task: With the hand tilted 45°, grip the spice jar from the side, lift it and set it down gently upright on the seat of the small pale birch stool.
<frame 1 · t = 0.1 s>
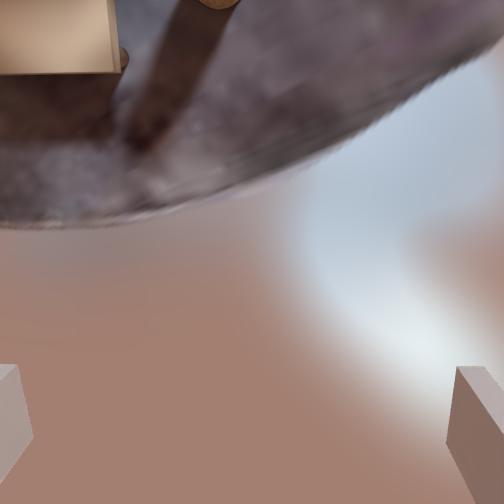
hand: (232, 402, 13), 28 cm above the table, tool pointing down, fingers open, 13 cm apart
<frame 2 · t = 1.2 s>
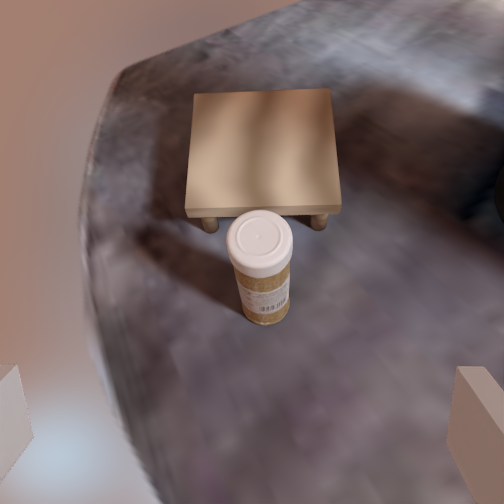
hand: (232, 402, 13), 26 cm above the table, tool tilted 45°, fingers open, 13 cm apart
stool: (264, 181, 48), on the table
spice jar: (265, 304, 42), on the table
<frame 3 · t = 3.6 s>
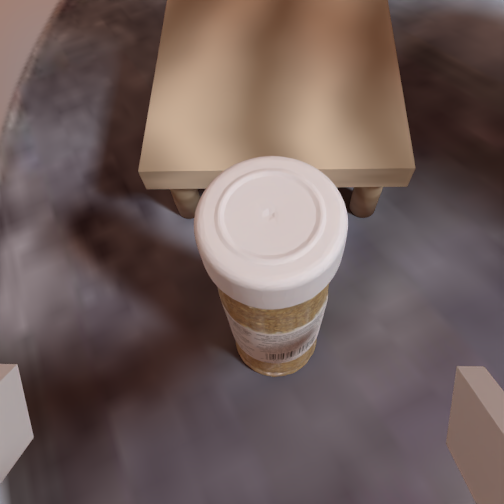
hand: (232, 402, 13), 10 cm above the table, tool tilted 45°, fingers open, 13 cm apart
stool: (275, 139, 31), on the table
spice jar: (274, 338, 25), on the table
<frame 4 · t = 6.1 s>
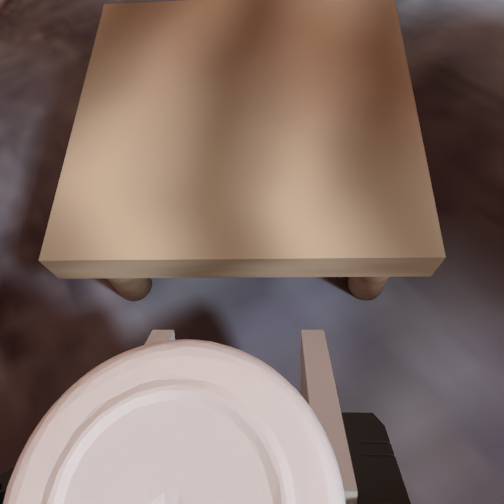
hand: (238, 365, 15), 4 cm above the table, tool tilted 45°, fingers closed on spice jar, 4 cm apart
stool: (250, 189, 24), on the table
spice jar: (244, 485, 18), on the table, touching gripper
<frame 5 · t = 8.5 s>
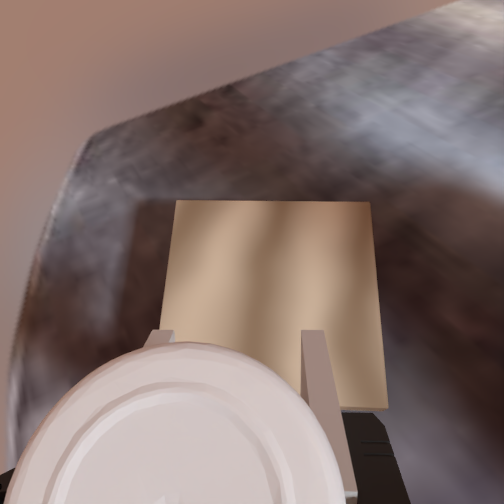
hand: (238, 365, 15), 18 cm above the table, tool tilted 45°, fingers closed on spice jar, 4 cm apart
stool: (270, 319, 34), on the table
spice jar: (244, 486, 18), point 13 cm above the table, touching gripper
when the fingers open (12 cm above the table, at t = 11.2 s): spice jar drops 1 cm, resting on stool.
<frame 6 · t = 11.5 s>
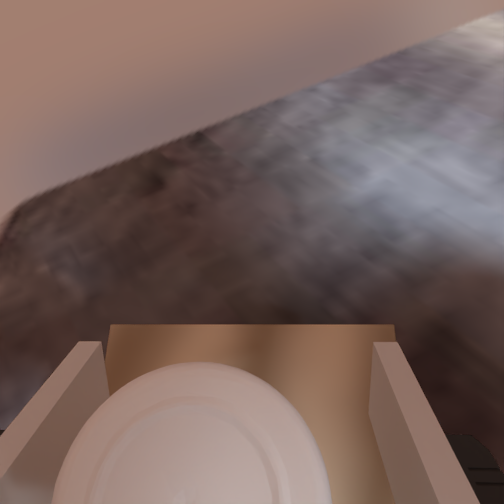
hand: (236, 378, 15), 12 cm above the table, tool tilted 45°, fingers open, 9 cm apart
stool: (253, 482, 24), on the table
spice jar: (247, 485, 19), point 6 cm above the table, touching stool
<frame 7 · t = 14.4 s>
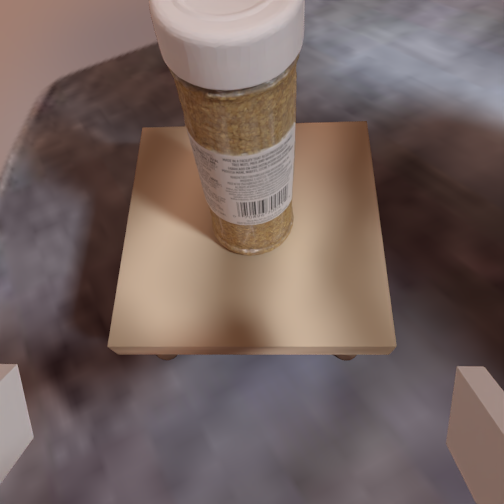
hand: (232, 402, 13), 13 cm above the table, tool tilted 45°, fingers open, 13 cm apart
stool: (256, 266, 30), on the table
spice jar: (252, 224, 25), point 6 cm above the table, touching stool
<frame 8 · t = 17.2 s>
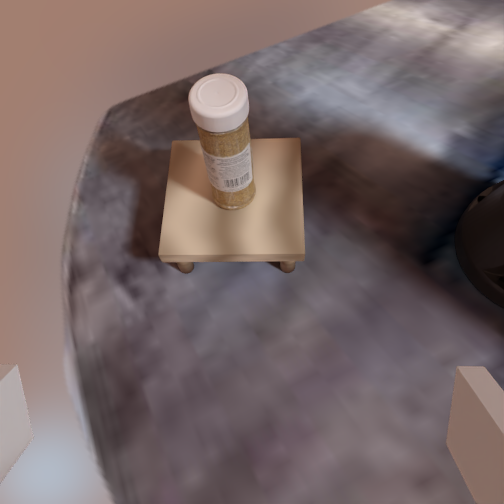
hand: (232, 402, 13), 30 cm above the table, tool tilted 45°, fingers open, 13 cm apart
stool: (238, 222, 51), on the table
spice jar: (234, 194, 45), point 6 cm above the table, touching stool
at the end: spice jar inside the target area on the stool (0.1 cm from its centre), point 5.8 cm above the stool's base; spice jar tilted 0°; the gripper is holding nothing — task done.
